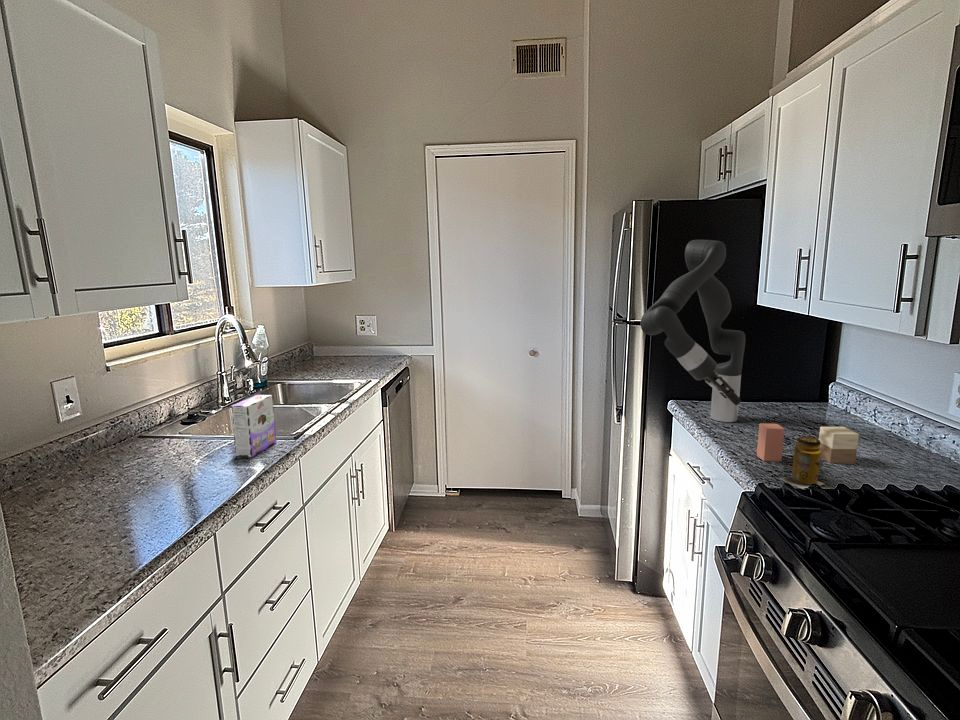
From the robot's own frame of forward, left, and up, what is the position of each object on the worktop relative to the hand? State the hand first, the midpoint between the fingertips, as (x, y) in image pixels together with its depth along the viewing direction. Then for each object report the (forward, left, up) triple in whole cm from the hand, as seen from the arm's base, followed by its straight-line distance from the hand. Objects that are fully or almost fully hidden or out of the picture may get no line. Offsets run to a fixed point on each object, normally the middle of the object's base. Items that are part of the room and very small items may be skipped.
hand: (733, 399), depth 160 cm
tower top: (-11, +29, -14) cm, 34 cm away
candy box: (+52, -137, -18) cm, 148 cm away
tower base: (-11, +29, -18) cm, 36 cm away
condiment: (+12, +18, -18) cm, 28 cm away
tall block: (-4, +11, -18) cm, 21 cm away
